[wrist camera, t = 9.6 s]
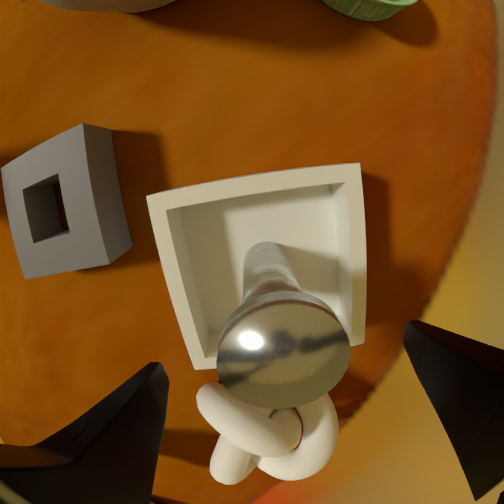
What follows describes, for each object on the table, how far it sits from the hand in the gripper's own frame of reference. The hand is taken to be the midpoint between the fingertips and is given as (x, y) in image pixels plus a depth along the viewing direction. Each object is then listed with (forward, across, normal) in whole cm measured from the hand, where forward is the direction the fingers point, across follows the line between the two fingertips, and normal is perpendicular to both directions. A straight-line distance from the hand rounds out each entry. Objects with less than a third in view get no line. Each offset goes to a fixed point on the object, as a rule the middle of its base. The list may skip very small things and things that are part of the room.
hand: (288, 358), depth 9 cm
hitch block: (+11, +14, -7) cm, 19 cm away
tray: (+11, 0, 0) cm, 11 cm away
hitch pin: (+10, 0, 0) cm, 10 cm away
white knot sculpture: (+12, +3, +14) cm, 19 cm away
